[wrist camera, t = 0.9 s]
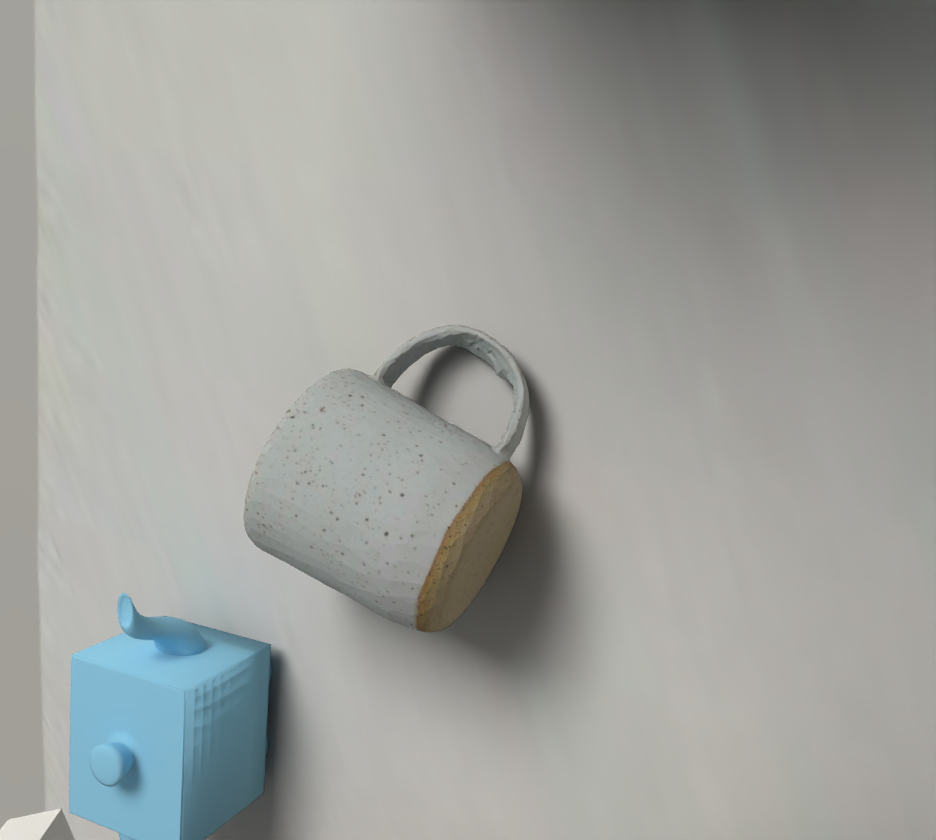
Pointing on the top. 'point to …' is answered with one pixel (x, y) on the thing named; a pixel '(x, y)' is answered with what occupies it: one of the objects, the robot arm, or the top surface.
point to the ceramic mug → (390, 489)
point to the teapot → (167, 727)
